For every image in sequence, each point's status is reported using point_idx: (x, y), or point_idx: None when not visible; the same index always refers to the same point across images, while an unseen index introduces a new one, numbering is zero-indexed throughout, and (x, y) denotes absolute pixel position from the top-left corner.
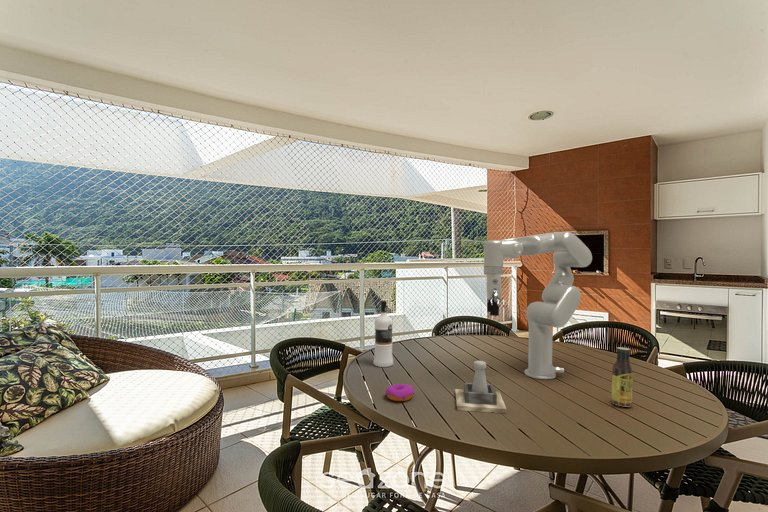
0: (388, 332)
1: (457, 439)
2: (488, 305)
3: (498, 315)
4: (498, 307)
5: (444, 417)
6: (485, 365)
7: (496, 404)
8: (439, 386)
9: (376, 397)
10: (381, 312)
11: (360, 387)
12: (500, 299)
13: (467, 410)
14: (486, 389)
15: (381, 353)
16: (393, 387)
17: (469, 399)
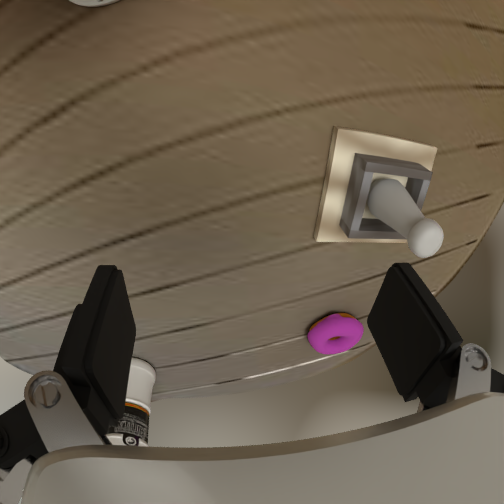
0: (138, 432)
1: (476, 242)
2: (125, 384)
3: (406, 263)
4: (449, 326)
5: (422, 258)
6: (439, 226)
7: (419, 163)
8: (266, 269)
9: None
10: None
11: (279, 376)
12: (500, 396)
13: None
14: (406, 190)
15: (150, 395)
16: (330, 348)
17: None
